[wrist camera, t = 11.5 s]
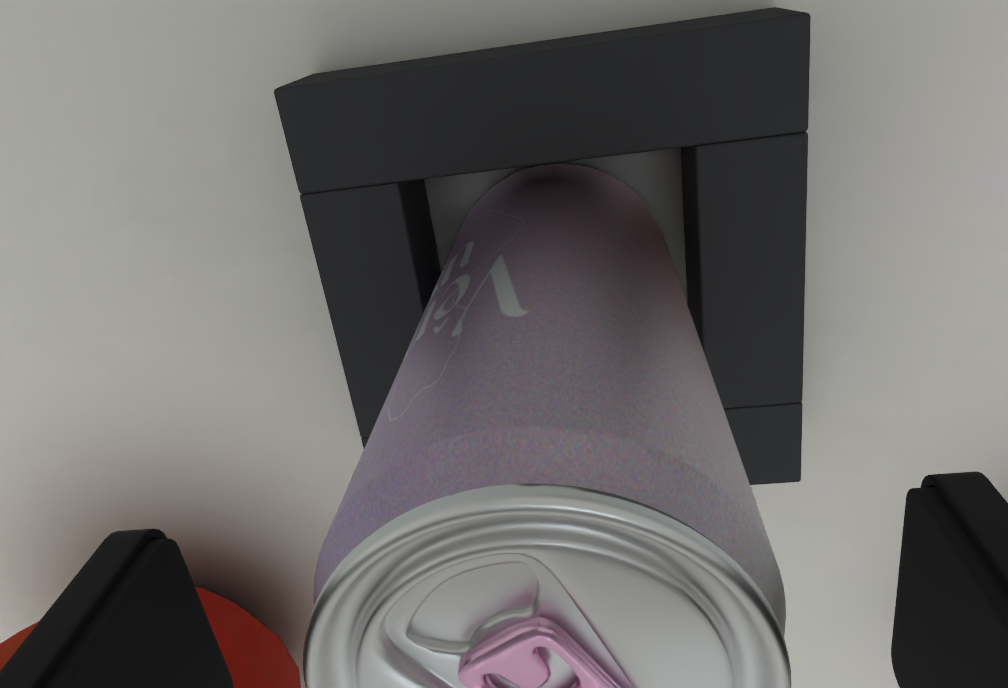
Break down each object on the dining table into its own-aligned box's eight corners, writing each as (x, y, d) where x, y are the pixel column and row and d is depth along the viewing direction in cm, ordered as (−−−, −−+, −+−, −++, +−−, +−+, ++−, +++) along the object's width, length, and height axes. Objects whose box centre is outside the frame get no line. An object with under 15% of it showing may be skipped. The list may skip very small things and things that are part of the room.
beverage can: (542, 390, 24) (504, 914, 11) (414, 244, 23) (178, 652, 9) (706, 279, 22) (912, 752, 9) (580, 111, 21) (595, 378, 7)
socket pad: (310, 74, 21) (271, 89, 18) (778, 6, 19) (811, 12, 16) (399, 453, 26) (378, 510, 23) (775, 425, 24) (800, 482, 21)
